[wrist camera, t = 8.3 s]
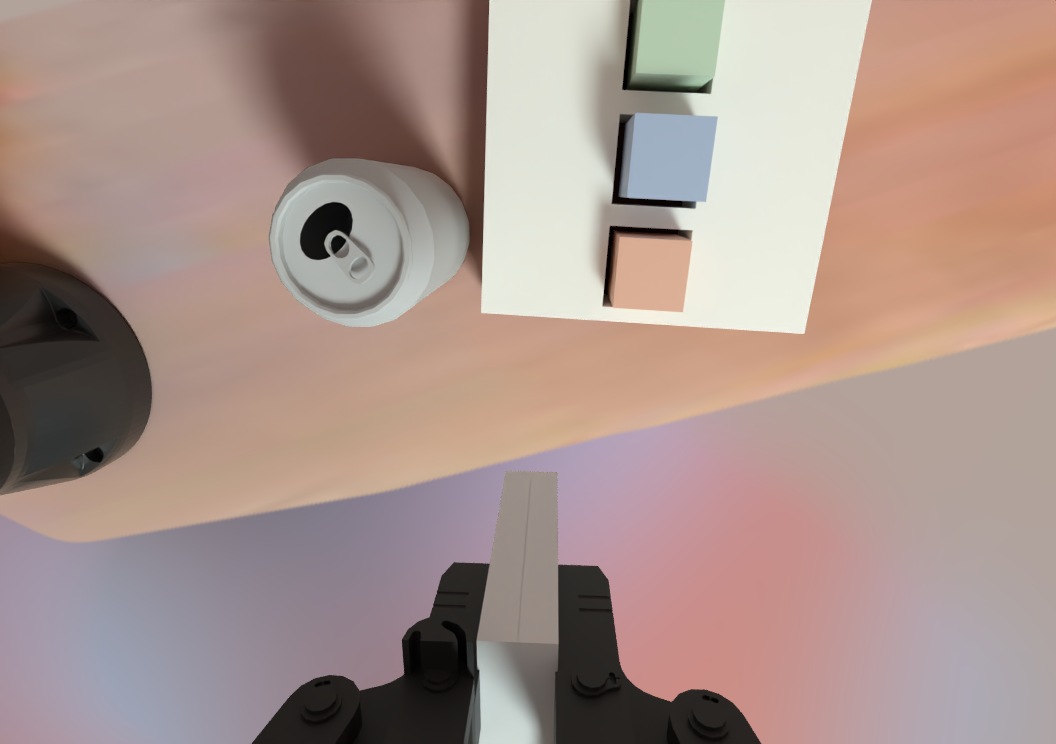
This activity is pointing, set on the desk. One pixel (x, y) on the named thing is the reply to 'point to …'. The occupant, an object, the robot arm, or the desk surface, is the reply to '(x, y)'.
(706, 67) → the sage button
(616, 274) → the terracotta button
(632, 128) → the slate button
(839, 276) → the desk surface
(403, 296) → the can
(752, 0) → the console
